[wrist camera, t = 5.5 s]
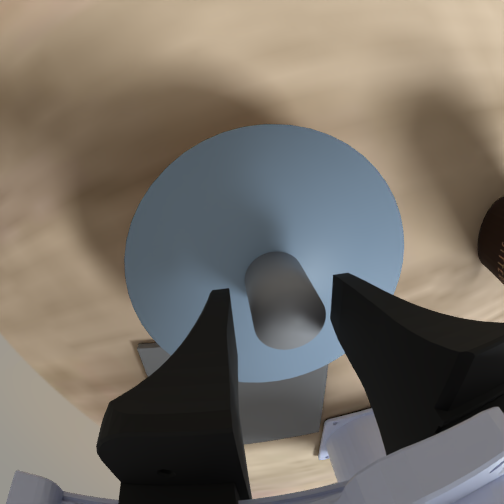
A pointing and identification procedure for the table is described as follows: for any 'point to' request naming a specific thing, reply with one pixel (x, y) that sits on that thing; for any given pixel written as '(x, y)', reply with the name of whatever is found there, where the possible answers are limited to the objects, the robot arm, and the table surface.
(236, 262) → the lid
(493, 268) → the coffee mug
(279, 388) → the mat
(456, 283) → the table surface
